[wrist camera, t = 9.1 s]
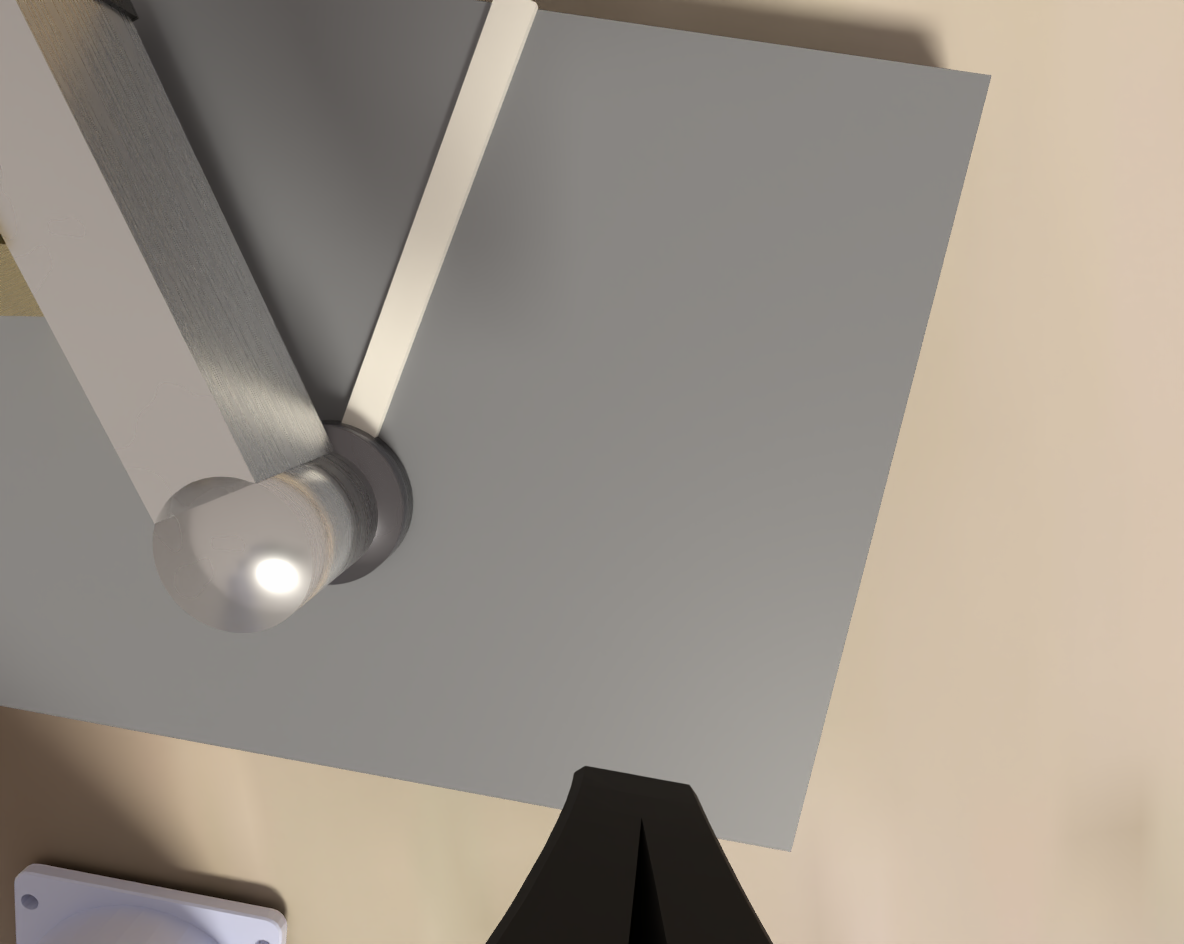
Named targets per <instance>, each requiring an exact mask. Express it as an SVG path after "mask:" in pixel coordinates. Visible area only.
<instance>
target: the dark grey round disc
mask: <svg viewBox="0 0 1184 944" xmlns="http://www.w3.org/2000/svg"><path fill="white" fill-rule="evenodd" d="M341 422H342V421H337V420H321V423H322V425H323V427H324V429H325V432H326V434H327V436H328V438H329V440H330V442H331V444H332V446H333V449H334V452H336V453H338V454H340V455H342V456H344V457H345V458H347V459H348V460H350V461H351V462H352V463H353V464H354V465H355V466H357V467H358V469H359V470H360V471H361V472H362V473H363V474H364V476H365V477H366V479H367V480H368V482H369V484H370V485H371V487H372V490H373V492H374V495H375V498H376V502H377V508H378V524H377V530H376V533H375V537H374V539H373V541H372V543H371V545H370V547H369V548H368V550H367V551H366V552H365V553H364V555H363V556H362V557H361V558H359V559H358V560H357V561H356V562H355V563H354V564H352V565H351V566H350V567H349V568H347V569H346V570H345V571H344V572H343V573H341V574H340V575H339V576H338V577H337V578H335V579H334V580H333V581H332V582H331V583H329V584H328V585H337V584H344V583H348V582H352V581H355V580H357V579H360V578H362V577H364V576H366V575H367V574H369V573H371V572H372V571H374V570H375V569H376V568H377V567H378V566H380V565H381V564H382V563H383V562H384V561H385V560H386V559H387V558H388V557H389V556H391V555H392V554H393V553H394V552H395V550H396V549H397V548H398V547H399V546H400V544H401V543H402V541H403V540H404V538H405V536H406V534H407V532H408V530H409V527H410V524H411V520H412V515H413V492H412V487H411V483H410V479H409V477H408V474H407V471H406V469H405V467H404V465H403V464H402V462H401V460H400V459H399V457H398V456H397V454H396V453H395V452H394V451H393V450H392V448H391V447H390V446H389V445H388V444H387V443H386V442H384V441H383V440H382V439H381V438H380V437H378V436H377V437H375V438H374V437H373V436H371V435H370V434H369V433H367V432H365V431H363V430H361V429H359V428H356V427H354V426H351V425H348V424H344V423H341Z"/></svg>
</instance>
